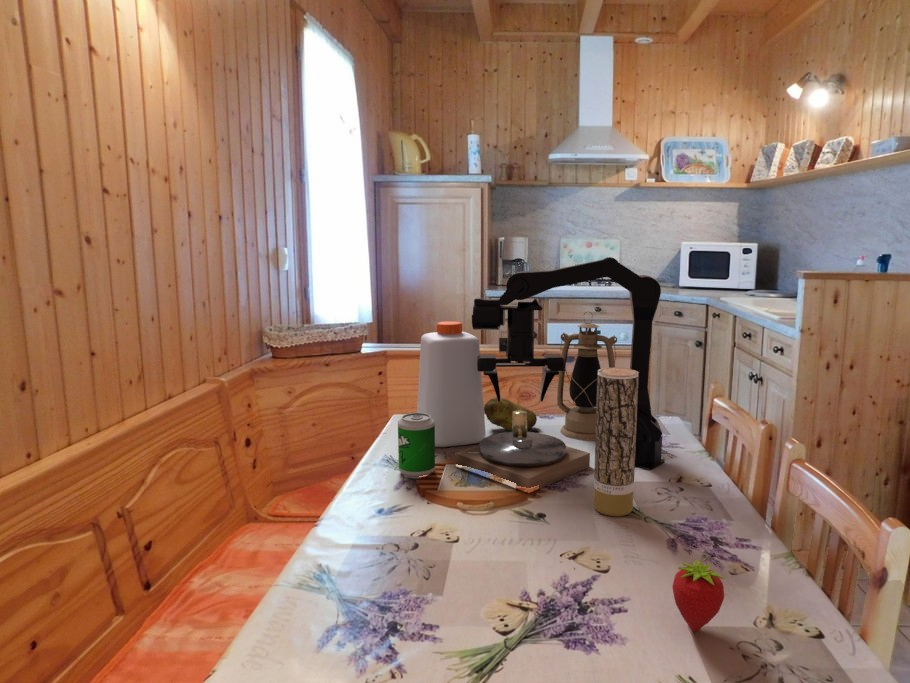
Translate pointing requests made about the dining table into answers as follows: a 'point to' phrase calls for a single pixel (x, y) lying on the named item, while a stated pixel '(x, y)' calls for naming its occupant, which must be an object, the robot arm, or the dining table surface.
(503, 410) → the potato
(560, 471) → the wheel base
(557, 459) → the handwheel
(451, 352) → the plastic bottle
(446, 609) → the dining table surface
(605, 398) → the paper tube
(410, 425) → the soda can
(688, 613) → the strawberry
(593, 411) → the lantern
